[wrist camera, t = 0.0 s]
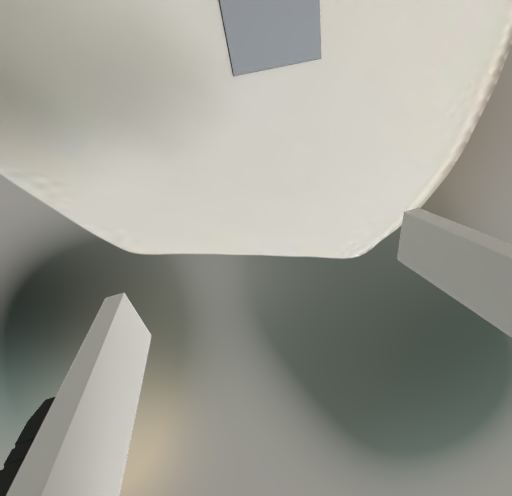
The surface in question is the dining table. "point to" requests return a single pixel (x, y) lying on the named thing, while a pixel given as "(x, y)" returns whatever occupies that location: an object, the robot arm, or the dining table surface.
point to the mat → (271, 33)
